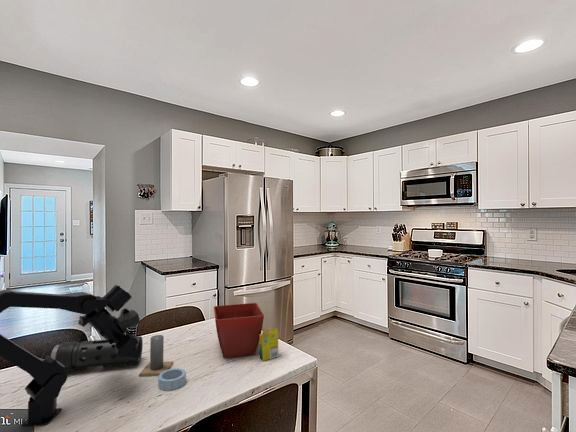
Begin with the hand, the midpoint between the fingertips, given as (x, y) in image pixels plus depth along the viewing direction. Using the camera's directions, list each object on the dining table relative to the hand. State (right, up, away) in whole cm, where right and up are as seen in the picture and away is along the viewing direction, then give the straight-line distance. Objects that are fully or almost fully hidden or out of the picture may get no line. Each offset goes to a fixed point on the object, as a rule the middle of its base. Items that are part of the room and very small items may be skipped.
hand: (133, 351), depth 104 cm
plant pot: (+32, -10, +23) cm, 41 cm away
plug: (+5, -9, +7) cm, 12 cm away
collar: (+14, -9, -3) cm, 17 cm away
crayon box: (+45, -10, +17) cm, 49 cm away
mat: (+5, -10, +7) cm, 13 cm away
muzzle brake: (-17, -10, +8) cm, 22 cm away
